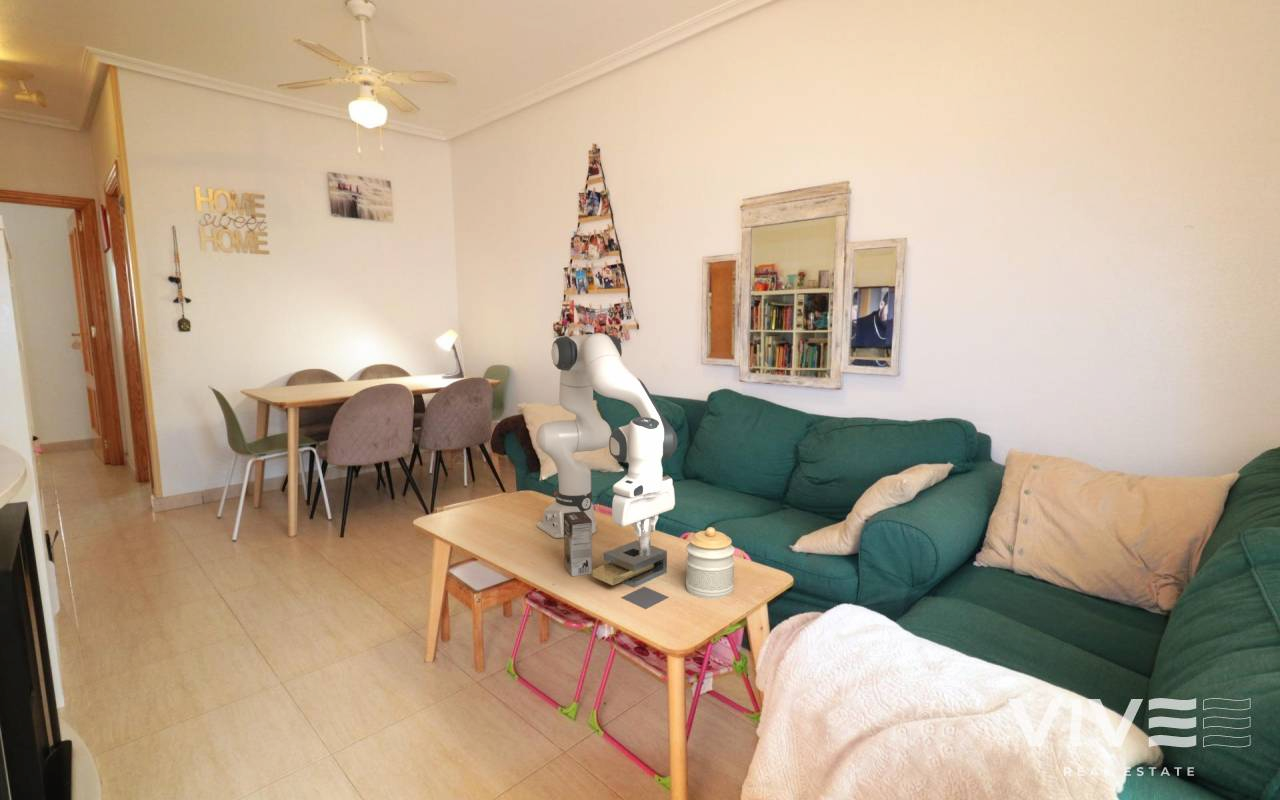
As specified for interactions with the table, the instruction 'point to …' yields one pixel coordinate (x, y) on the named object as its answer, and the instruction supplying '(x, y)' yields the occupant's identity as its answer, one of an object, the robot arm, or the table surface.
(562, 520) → the robot arm
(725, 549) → the jar
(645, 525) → the pin
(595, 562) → the table surface
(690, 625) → the table surface
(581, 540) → the coffee box
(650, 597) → the mat
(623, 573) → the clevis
